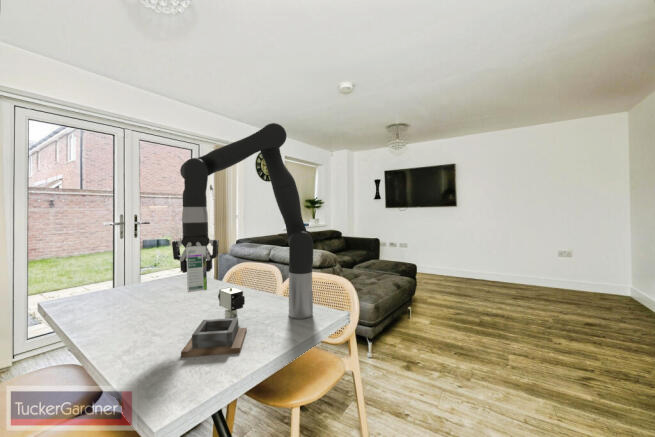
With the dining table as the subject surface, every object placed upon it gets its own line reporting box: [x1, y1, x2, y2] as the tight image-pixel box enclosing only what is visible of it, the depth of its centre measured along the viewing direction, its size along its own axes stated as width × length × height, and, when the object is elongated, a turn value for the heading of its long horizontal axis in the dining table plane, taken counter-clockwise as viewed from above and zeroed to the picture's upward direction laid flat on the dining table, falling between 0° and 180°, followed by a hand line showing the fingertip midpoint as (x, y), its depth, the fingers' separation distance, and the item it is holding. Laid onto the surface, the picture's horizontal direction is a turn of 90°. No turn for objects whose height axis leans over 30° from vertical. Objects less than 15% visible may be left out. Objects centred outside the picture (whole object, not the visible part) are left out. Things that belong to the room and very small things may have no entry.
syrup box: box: [186, 246, 208, 293], centre depth 90 cm, size 6×6×14 cm
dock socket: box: [180, 317, 248, 358], centre depth 85 cm, size 16×14×6 cm
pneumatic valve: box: [217, 286, 246, 319], centre depth 105 cm, size 6×12×12 cm, turn 50°
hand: (196, 271), depth 90 cm, fingers closed on syrup box, 6 cm apart
